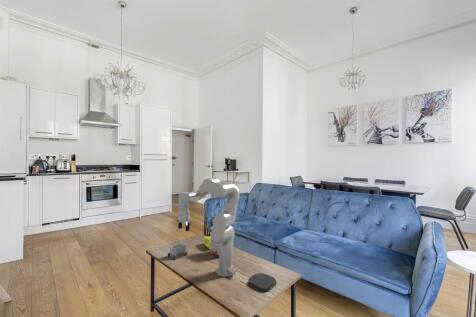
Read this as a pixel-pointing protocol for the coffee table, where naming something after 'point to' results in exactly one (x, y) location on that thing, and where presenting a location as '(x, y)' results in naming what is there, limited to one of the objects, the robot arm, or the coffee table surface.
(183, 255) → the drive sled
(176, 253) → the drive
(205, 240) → the yellow toy chassis
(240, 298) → the coffee table surface
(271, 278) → the media streaming box
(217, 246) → the cracker box
